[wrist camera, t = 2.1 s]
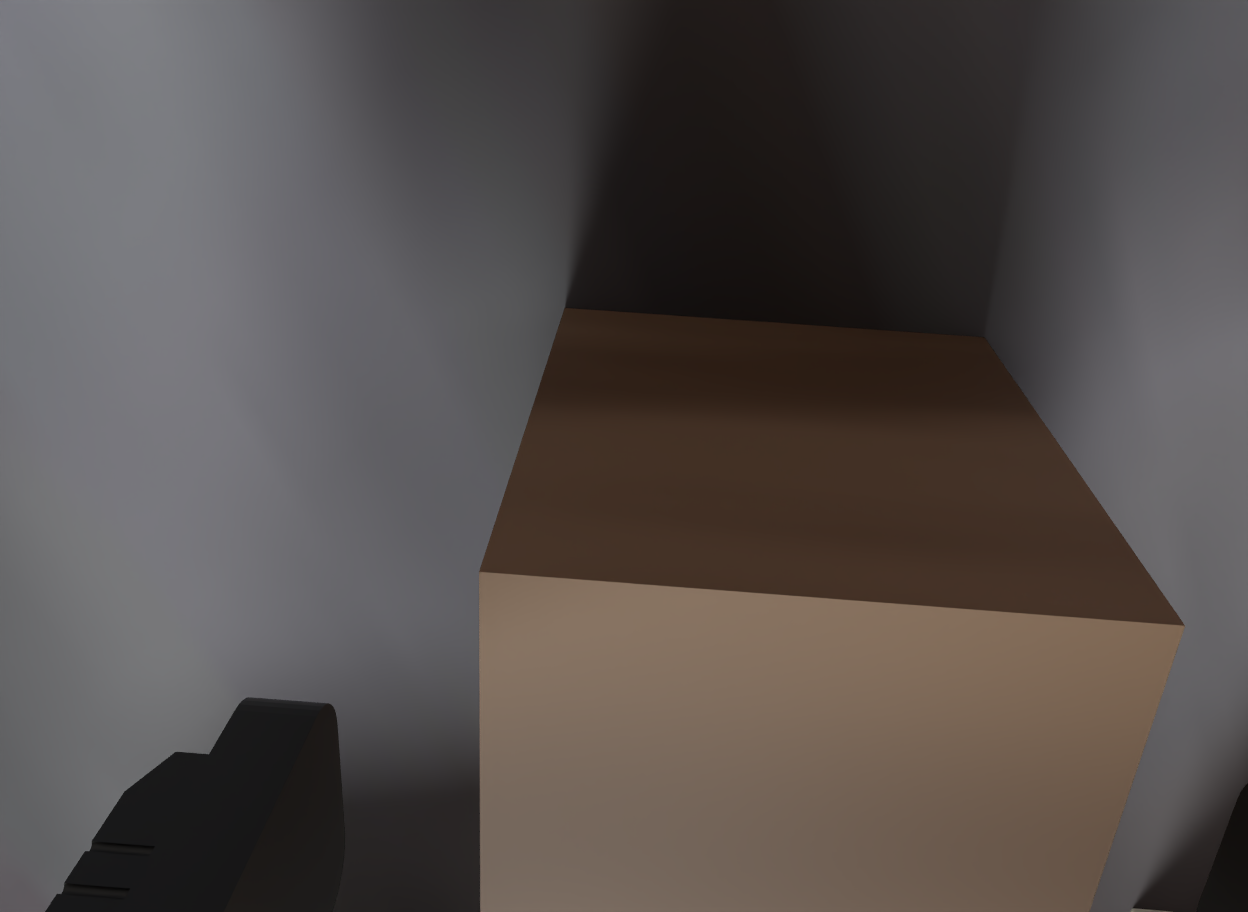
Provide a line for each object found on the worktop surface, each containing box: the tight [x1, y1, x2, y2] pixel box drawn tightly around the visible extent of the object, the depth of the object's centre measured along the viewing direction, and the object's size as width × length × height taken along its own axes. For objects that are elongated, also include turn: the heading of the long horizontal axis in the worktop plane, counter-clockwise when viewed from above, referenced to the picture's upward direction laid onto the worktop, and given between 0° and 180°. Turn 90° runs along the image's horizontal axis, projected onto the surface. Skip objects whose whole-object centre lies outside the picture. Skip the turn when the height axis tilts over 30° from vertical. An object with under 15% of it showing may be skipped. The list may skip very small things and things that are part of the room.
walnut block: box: [479, 308, 1185, 912], centre depth 12 cm, size 5×5×6 cm
